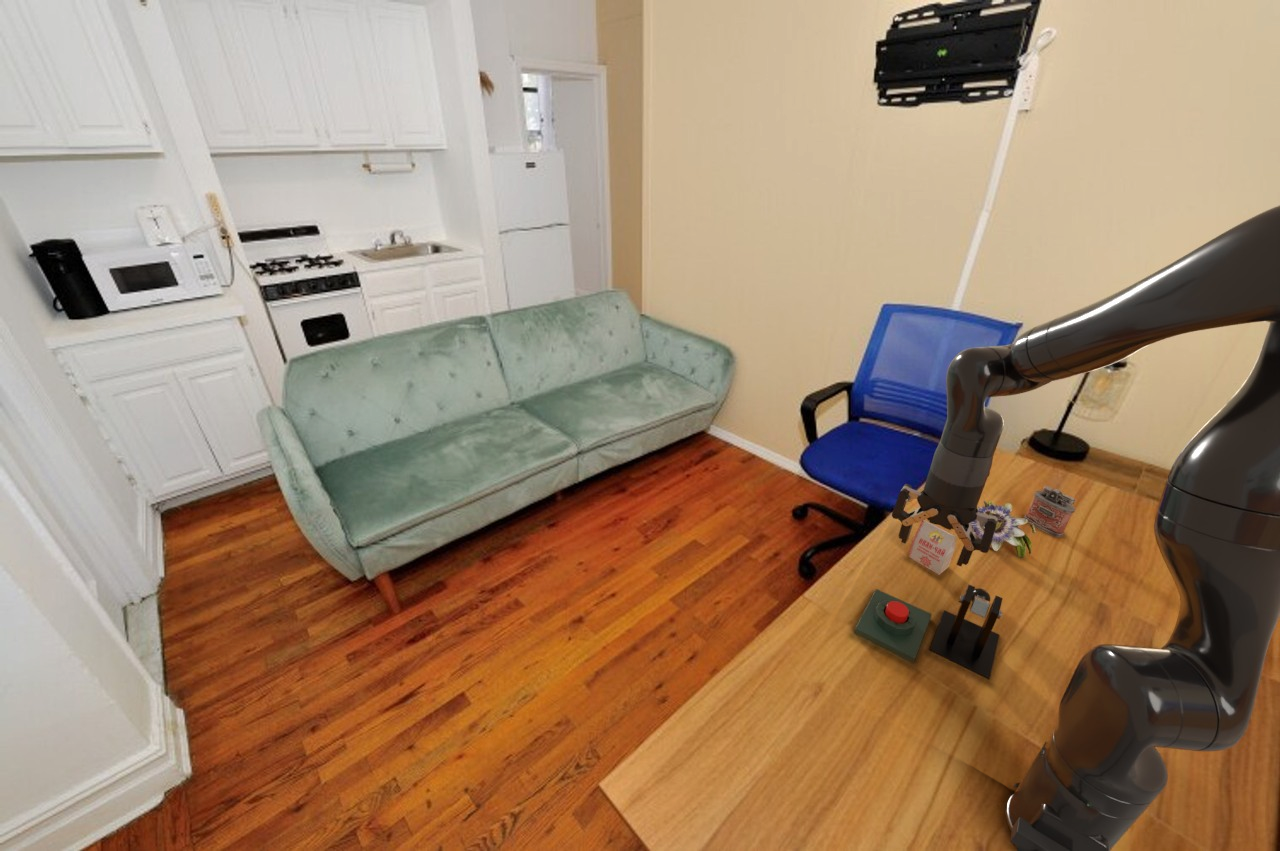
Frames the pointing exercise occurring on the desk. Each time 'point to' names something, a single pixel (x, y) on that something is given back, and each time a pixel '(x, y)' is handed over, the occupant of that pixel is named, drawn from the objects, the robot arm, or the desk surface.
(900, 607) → the button
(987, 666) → the bracket
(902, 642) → the button block
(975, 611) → the switch
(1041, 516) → the lighter
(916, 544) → the tea bag
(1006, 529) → the passion flower
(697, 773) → the desk surface
